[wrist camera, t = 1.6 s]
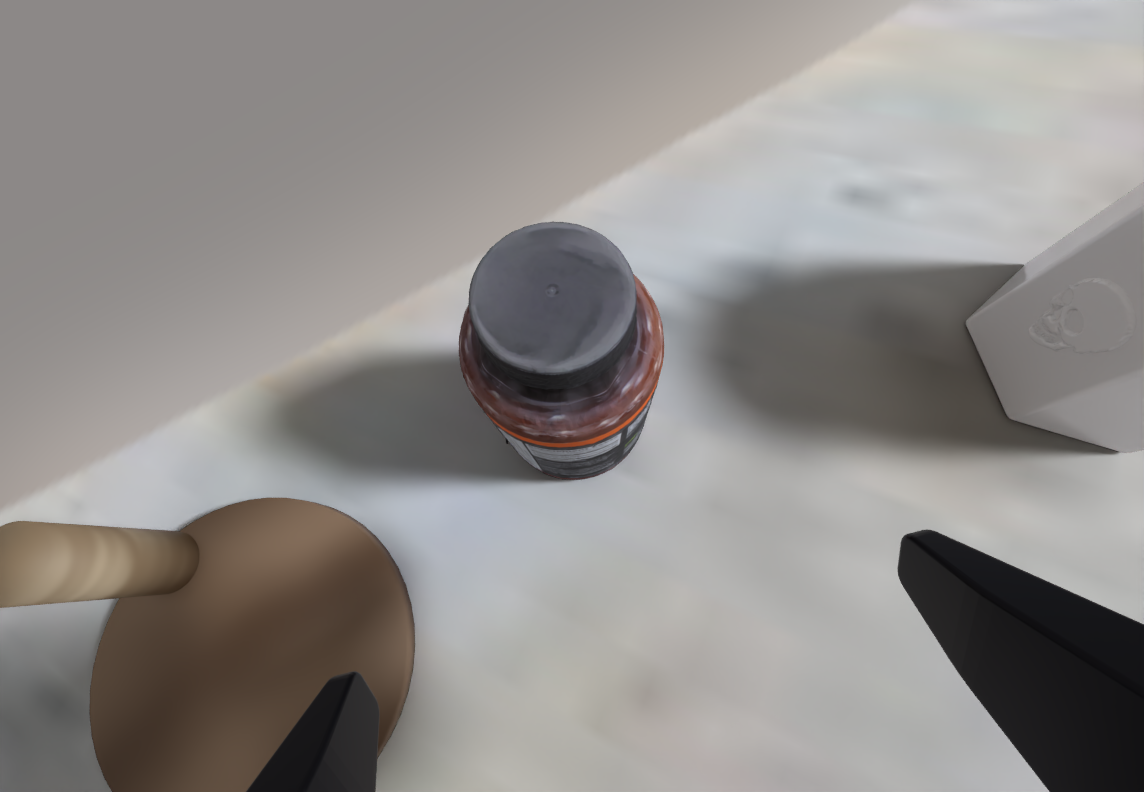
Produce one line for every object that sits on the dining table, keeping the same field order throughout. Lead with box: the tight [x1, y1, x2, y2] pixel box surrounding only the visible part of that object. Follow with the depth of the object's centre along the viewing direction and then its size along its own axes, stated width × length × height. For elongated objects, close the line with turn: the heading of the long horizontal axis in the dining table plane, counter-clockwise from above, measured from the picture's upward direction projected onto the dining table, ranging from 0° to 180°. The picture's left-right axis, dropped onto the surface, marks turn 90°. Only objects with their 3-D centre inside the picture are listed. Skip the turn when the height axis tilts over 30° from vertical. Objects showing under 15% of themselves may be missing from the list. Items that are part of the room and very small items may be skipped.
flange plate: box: [0, 498, 415, 792], centre depth 17 cm, size 12×12×7 cm
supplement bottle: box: [459, 222, 664, 480], centre depth 18 cm, size 6×6×11 cm
